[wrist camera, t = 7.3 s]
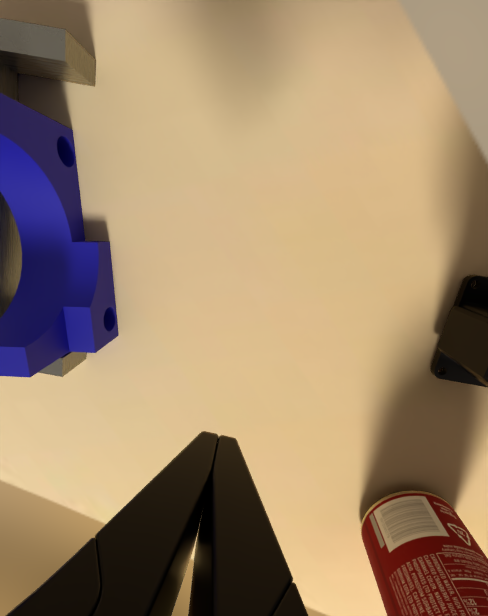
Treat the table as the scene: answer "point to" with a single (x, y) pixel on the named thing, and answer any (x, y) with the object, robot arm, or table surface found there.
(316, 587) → the table surface
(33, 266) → the cable clip
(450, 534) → the soda can
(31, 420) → the table surface
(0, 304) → the stop bracket
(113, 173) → the table surface
